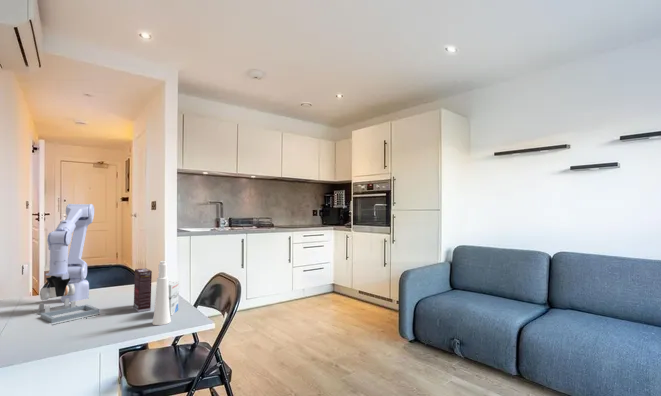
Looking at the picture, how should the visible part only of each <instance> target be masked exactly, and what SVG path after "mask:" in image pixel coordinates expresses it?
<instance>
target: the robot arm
mask: <svg viewBox="0 0 661 396" xmlns="http://www.w3.org/2000/svg"><path fill="white" fill-rule="evenodd" d="M65 215H66V217H65V219H63V220H61V221H60V222H59V224H58V225H57V226H56V228H55V229H54V231H53V230H52V231H51V232H49V233H48V235H47V238H46V239H47V240H46V242H47V244H48V250H49V269H48V272H47V273H45V276H50V277H46V278H45V279H46V281H47V282H48V285H49V288H52V287H55V291H56V296H57V297H56V298H60V299H61V300H60V301H61V303H64V299H68V298H69V303H71V301H76V302H78V301H82V300H83V301H84V300H88V299H89V298H90V297H89V295H90V282H89V281H88V280H87V279H86V278H87V275H88V263H87V262H86V261H85V260H84V259H82V257H83V251H84V246H85V241H86V236H87V230H88V227H89V225H91V224H92V223H93V221H94V217H95V205H94V204H93V203H88V204H87V203H81V204H80V203H68V204H66V208H65ZM69 245H70V248H69ZM67 284H74V286H75V293H74V295H71V296H67V295H66V296H63V295H64V293H65V289H66V286H67Z"/></svg>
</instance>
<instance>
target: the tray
mask: <svg viewBox="0 0 661 396" xmlns="http://www.w3.org/2000/svg"><path fill="white" fill-rule="evenodd" d="M76 306H77V307H72V308H67V309H62V310H57V311H51V312H46V313H41V315H40V318H41V319H43V320H45V321H46V322H48V323H51V324H52V326H56V325H59V324H64V323H68V322H69V323H70V322H74V321H77V320H82V318H83V319H86V318H91V317H96V316H100V308H97V307H96V306H92V305H91V304H90V305H89V304H83V305H76ZM83 310H86V311H83ZM80 311H81V312H80ZM73 312H75V313H73ZM68 313H71V314H68ZM64 314H67V315H64ZM57 315H61V316H57ZM54 316H57V317H54ZM58 322H59V323H58Z"/></svg>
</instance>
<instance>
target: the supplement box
mask: <svg viewBox="0 0 661 396" xmlns="http://www.w3.org/2000/svg"><path fill="white" fill-rule="evenodd" d="M152 274H153V272H152V270H150V269H148V268H145V267H144V268H136V269H134V283H133V284H134V286H133V287H134V288H133V309H134V310H136V312H138V313H140V312H141V313H142V312H143V313H144V312H146V311H147V312H148V311H151V310H152V309H151V307H152V306H151V305H152Z"/></svg>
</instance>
